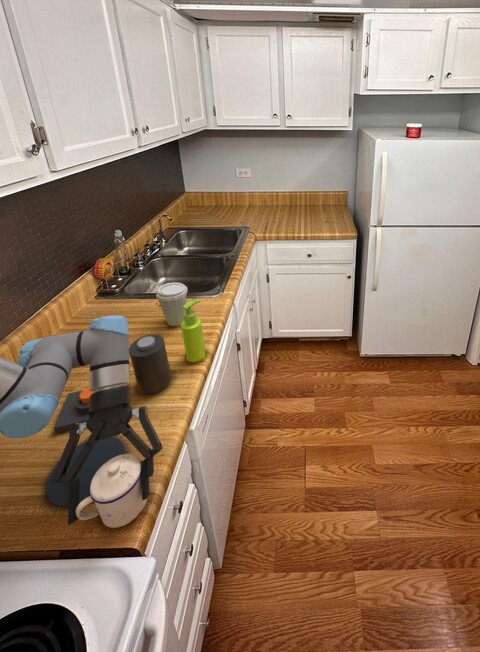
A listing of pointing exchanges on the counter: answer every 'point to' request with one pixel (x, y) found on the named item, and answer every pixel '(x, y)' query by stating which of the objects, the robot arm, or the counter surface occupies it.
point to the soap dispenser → (192, 334)
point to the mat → (85, 469)
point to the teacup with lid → (115, 492)
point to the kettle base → (72, 412)
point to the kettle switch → (85, 396)
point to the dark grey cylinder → (150, 364)
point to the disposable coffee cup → (172, 302)
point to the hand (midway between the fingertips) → (110, 509)
